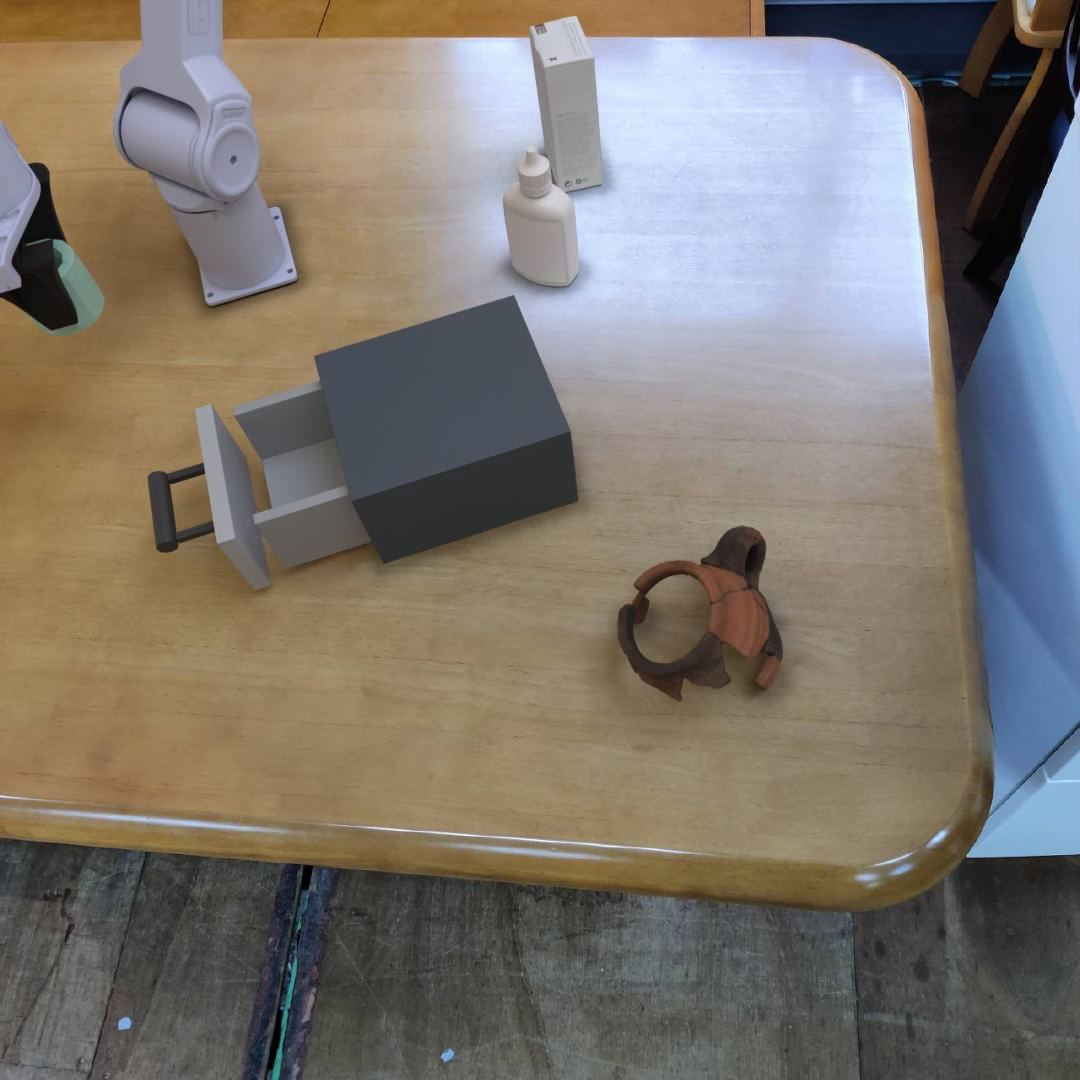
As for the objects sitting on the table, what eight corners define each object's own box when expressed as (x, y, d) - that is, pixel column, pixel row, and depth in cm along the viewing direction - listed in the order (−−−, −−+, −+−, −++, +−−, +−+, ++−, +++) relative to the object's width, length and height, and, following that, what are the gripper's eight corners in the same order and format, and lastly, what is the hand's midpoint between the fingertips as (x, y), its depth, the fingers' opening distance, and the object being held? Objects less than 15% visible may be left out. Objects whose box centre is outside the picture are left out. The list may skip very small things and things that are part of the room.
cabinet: (383, 564, 67) (350, 500, 60) (347, 428, 73) (313, 355, 66) (578, 501, 68) (571, 431, 61) (526, 372, 74) (514, 294, 67)
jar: (35, 296, 71) (1, 250, 67) (102, 277, 71) (71, 231, 67) (37, 344, 68) (1, 299, 64) (106, 325, 68) (74, 279, 65)
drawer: (188, 612, 66) (143, 567, 60) (170, 482, 71) (127, 428, 65) (440, 531, 67) (421, 479, 61) (403, 409, 72) (381, 350, 67)
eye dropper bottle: (542, 302, 78) (527, 183, 67) (506, 263, 80) (486, 142, 70) (586, 277, 78) (578, 156, 68) (549, 239, 81) (535, 116, 71)
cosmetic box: (605, 184, 84) (600, 57, 73) (556, 196, 84) (543, 70, 73) (588, 140, 87) (581, 11, 76) (540, 151, 87) (527, 23, 76)
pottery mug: (767, 740, 59) (706, 706, 53) (647, 697, 65) (580, 663, 59) (830, 562, 61) (777, 511, 55) (707, 538, 67) (648, 490, 62)
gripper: (-118, 79, 60) (6, 244, 72) (-132, 229, 53) (8, 385, 64) (-6, 50, 60) (98, 219, 72) (-5, 195, 53) (110, 356, 65)
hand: (62, 296), depth 68 cm, fingers closed on jar, 5 cm apart
